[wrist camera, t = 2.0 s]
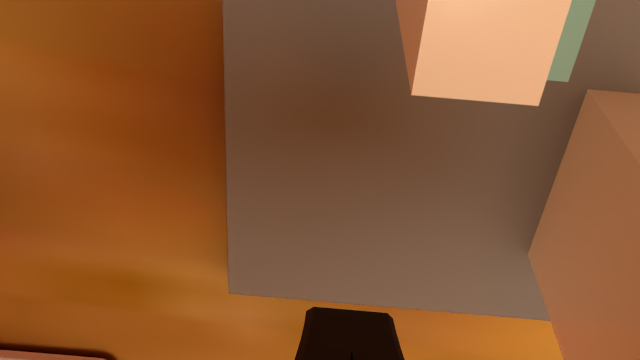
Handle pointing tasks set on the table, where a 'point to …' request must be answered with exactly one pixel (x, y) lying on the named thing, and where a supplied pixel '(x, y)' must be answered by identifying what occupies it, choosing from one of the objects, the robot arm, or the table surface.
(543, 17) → the tile
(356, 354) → the robot arm
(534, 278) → the slate board
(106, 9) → the table surface
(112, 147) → the table surface
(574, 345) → the tile
